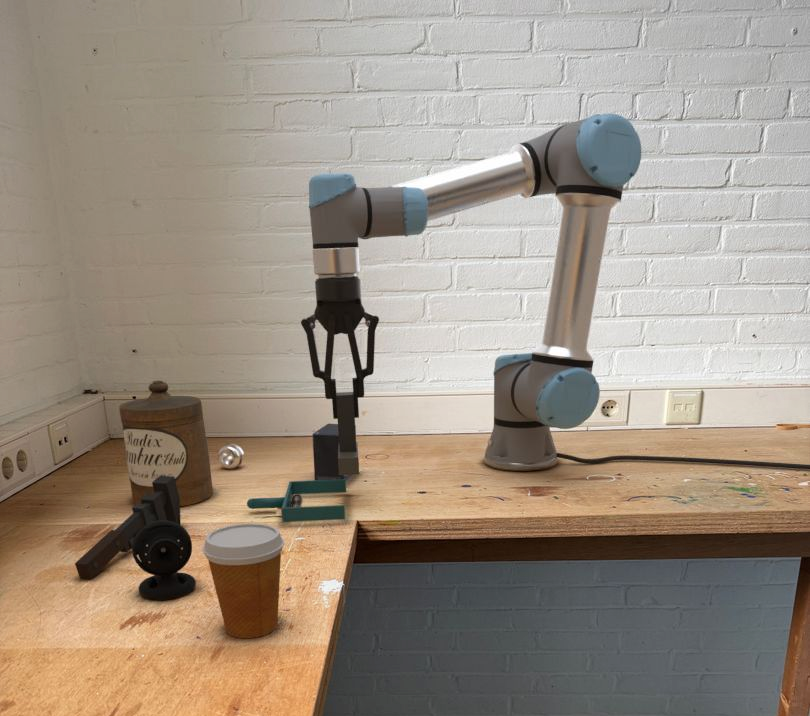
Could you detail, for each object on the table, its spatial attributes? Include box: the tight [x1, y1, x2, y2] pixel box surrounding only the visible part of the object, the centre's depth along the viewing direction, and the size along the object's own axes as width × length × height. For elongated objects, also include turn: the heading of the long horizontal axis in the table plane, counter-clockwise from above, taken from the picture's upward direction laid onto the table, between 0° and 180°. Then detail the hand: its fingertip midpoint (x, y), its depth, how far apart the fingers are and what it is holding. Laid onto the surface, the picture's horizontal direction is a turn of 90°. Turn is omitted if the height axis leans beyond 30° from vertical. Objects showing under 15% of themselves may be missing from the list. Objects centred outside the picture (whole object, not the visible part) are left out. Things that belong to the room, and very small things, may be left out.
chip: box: [291, 494, 303, 505], centre depth 144 cm, size 2×4×2 cm, turn 3°
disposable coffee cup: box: [201, 522, 285, 639], centre depth 96 cm, size 10×10×12 cm
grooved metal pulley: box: [217, 443, 245, 470], centre depth 172 cm, size 5×3×5 cm, turn 71°
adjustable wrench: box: [74, 476, 182, 580], centre depth 125 cm, size 8×3×25 cm
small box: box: [312, 423, 357, 482], centre depth 159 cm, size 11×6×10 cm, turn 168°
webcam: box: [131, 520, 197, 601], centre depth 108 cm, size 8×8×10 cm
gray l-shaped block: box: [336, 391, 360, 476], centre depth 141 cm, size 4×12×13 cm, turn 4°
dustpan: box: [246, 479, 347, 523], centre depth 142 cm, size 17×17×3 cm
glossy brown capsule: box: [290, 502, 302, 507], centre depth 139 cm, size 2×4×2 cm
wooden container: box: [118, 380, 214, 507], centre depth 149 cm, size 15×15×22 cm
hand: (346, 416), depth 140 cm, fingers closed on gray l-shaped block, 3 cm apart
